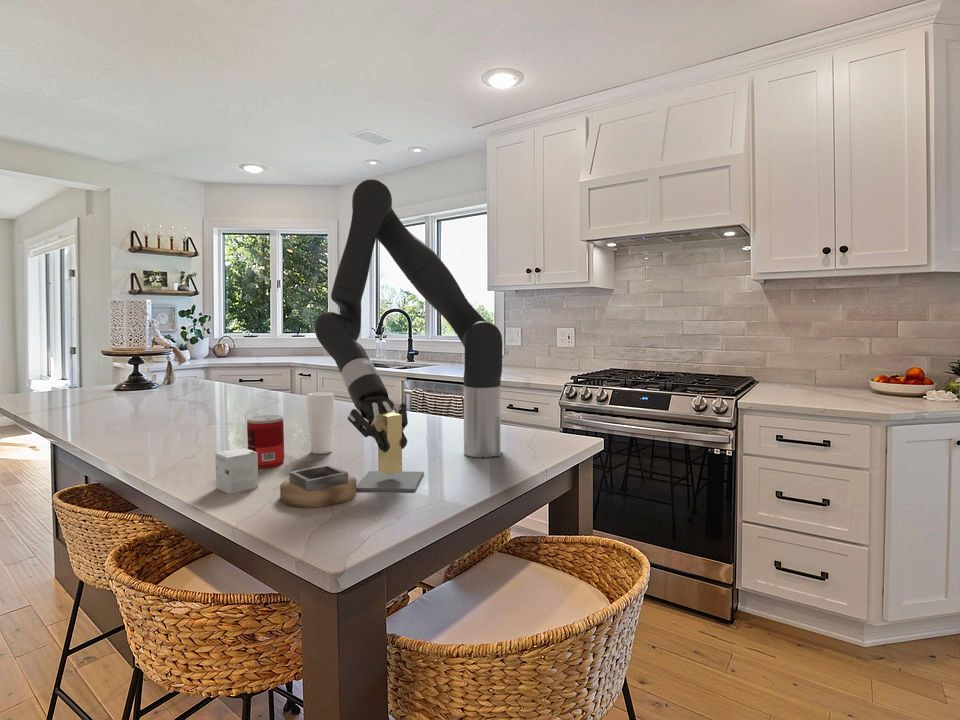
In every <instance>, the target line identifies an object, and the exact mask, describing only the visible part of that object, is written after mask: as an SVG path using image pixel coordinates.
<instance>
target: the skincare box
mask: <svg viewBox="0 0 960 720" xmlns="http://www.w3.org/2000/svg"><path fill="white" fill-rule="evenodd" d="M215 487H216V489H218V490H220V491H222V492H224V493H226V494H228V495H232V494H237V493H240V492H245V491H250V490H254V489H256V488H259V468H258V453H257V452H254V451H252V450H248V448H245V447H241V448H236V449H231V450H224V451H217V452H215Z"/></svg>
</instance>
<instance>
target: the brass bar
mask: <svg viewBox="0 0 960 720" xmlns="http://www.w3.org/2000/svg"><path fill="white" fill-rule="evenodd" d="M393 412H394V411H393ZM393 412H391V413H384V414H378V418H379V424H380V426H381V428H382V431H381V432H383V433H384V435H385V437H386V439H387V441H388V442H389V444H390V448H389V450H388V451H387V452H383V451H382V450H380V449H379V447H378V446H377V453H378V455H377V458H378V459H377V462H378V463H377V464H378V467H377V468H378V470H377V471H379V472H381V473H384V474H386V475H390V474H395V473H399V472H402V471H403V449H402V414H397V413H395V412H394V413H393Z"/></svg>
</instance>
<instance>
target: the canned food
mask: <svg viewBox="0 0 960 720" xmlns="http://www.w3.org/2000/svg"><path fill="white" fill-rule="evenodd" d="M284 427H285V425H284V416H283V415H280V414H265V415H263V414H261V415H256V416H254V415H253V416H250V417H248V418H247V419H246V430H247V431H246V436H247V449H248V450H252V451H254V452H257V453H258V469H268V468H274V467H279V466H281V465H283V463H284V461H285V433H284V431H285V428H284Z"/></svg>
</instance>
